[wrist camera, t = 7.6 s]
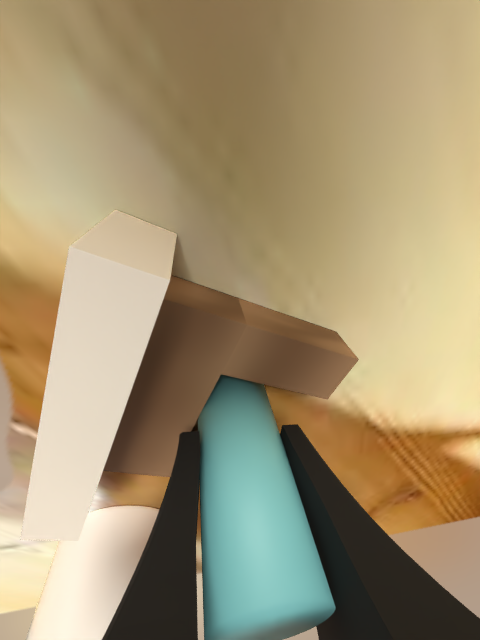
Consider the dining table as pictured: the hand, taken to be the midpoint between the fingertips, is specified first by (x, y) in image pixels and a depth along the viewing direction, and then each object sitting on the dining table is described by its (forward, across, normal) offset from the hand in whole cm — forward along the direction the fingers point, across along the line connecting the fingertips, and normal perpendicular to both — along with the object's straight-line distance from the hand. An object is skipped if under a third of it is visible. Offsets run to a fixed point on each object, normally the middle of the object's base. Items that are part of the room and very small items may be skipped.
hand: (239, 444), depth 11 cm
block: (+3, 0, 0) cm, 3 cm away
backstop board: (+3, +5, -2) cm, 6 cm away
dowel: (+3, 0, 0) cm, 3 cm away
